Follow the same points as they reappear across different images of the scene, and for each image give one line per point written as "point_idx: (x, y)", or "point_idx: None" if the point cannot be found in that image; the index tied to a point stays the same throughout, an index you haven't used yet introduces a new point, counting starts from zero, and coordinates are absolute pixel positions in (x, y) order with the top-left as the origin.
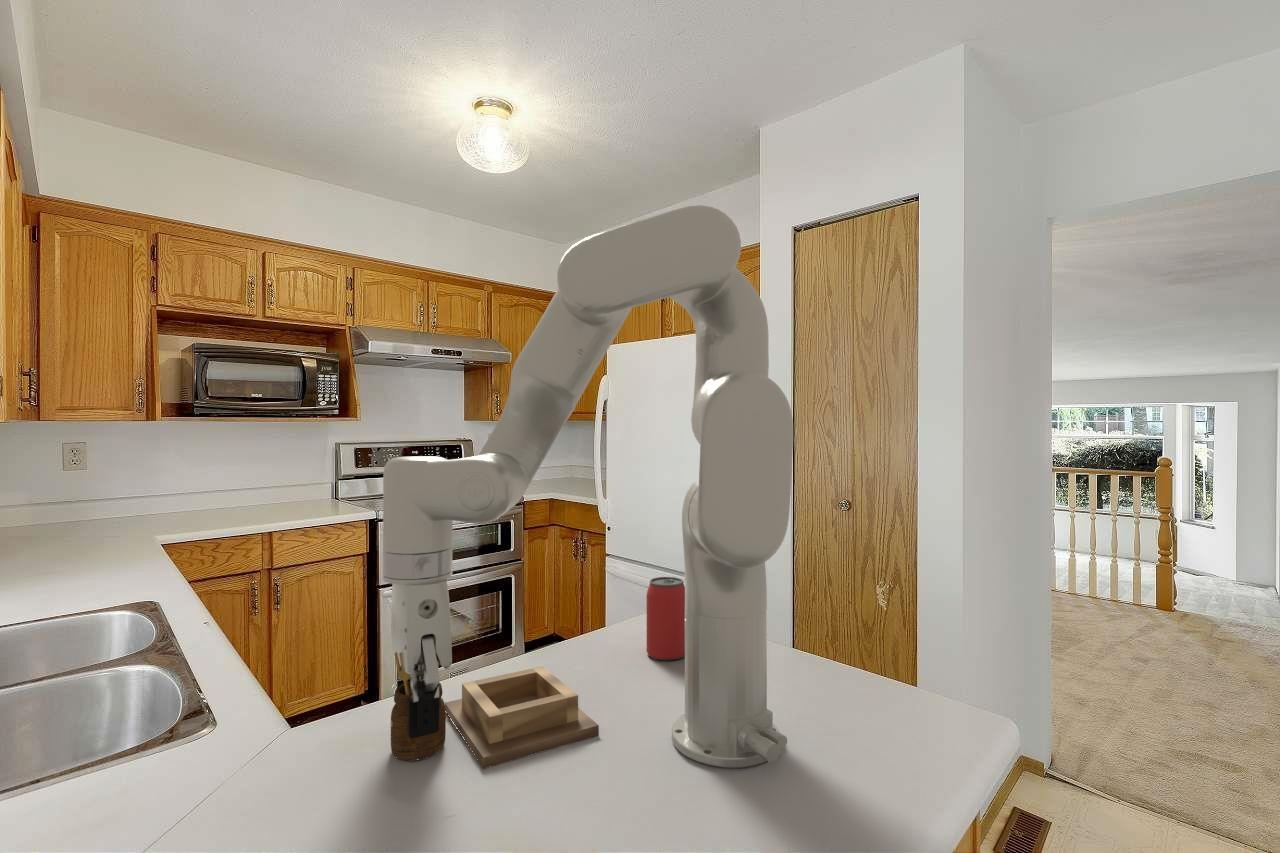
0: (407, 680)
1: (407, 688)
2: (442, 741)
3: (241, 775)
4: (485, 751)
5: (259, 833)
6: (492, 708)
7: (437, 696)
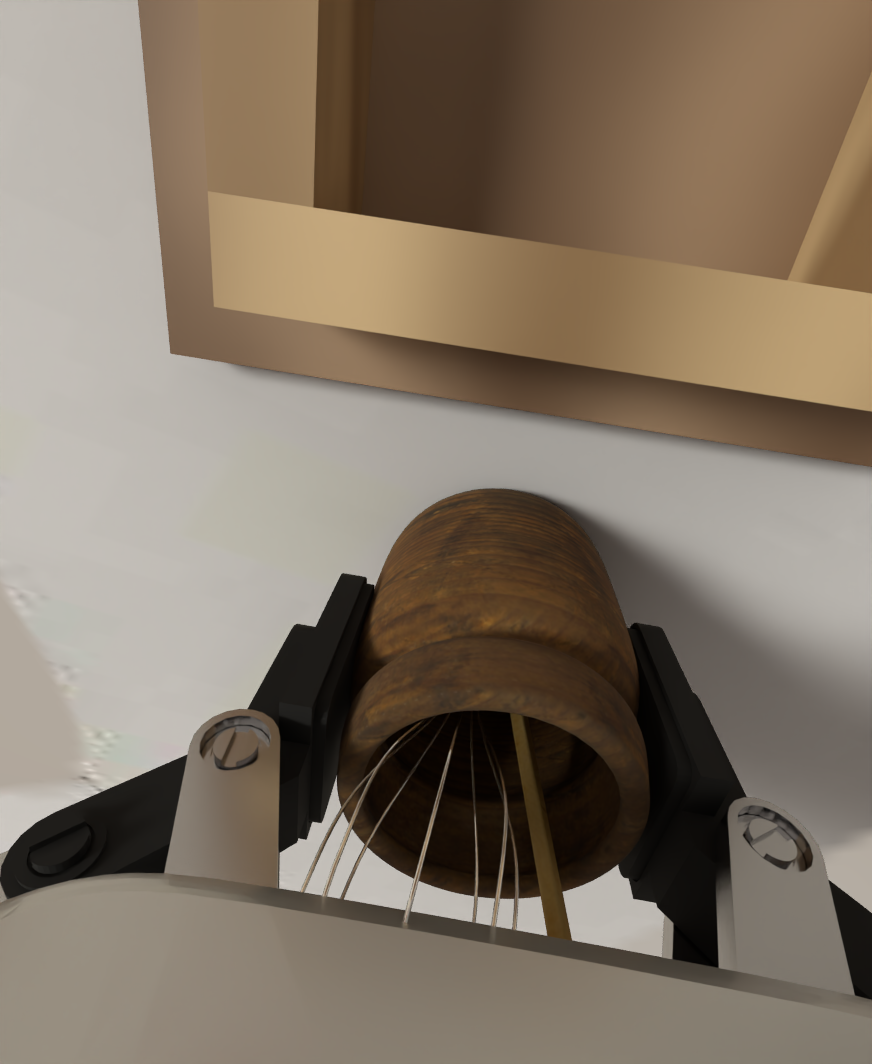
0: (309, 799)
1: (569, 932)
2: (587, 538)
3: (319, 894)
4: (869, 436)
5: (611, 927)
6: (840, 332)
7: (793, 830)
